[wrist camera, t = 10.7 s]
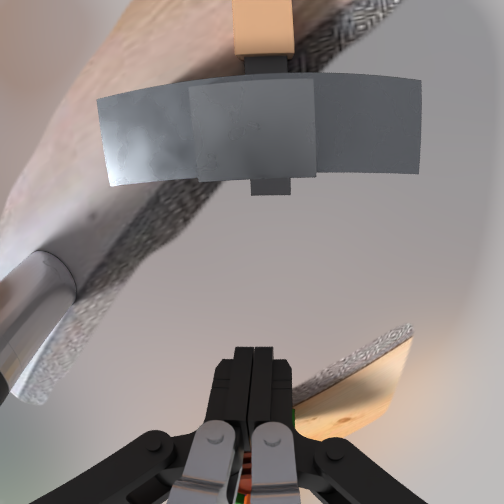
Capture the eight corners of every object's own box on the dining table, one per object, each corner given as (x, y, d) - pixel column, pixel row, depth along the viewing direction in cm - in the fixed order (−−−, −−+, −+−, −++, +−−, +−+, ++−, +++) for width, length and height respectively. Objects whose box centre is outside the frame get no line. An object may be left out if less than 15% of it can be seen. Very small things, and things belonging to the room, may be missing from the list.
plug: (294, 185, 30) (297, 202, 26) (248, 186, 31) (243, 203, 26) (288, 9, 23) (291, -6, 18) (239, 11, 23) (231, -4, 19)
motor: (300, 397, 45) (301, 520, 27) (286, 426, 49) (283, 533, 32) (232, 388, 45) (213, 513, 27) (226, 418, 49) (209, 526, 32)
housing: (372, 144, 28) (438, 188, 15) (162, 153, 30) (88, 201, 17) (372, 82, 25) (443, 80, 13) (155, 93, 27) (70, 103, 15)
